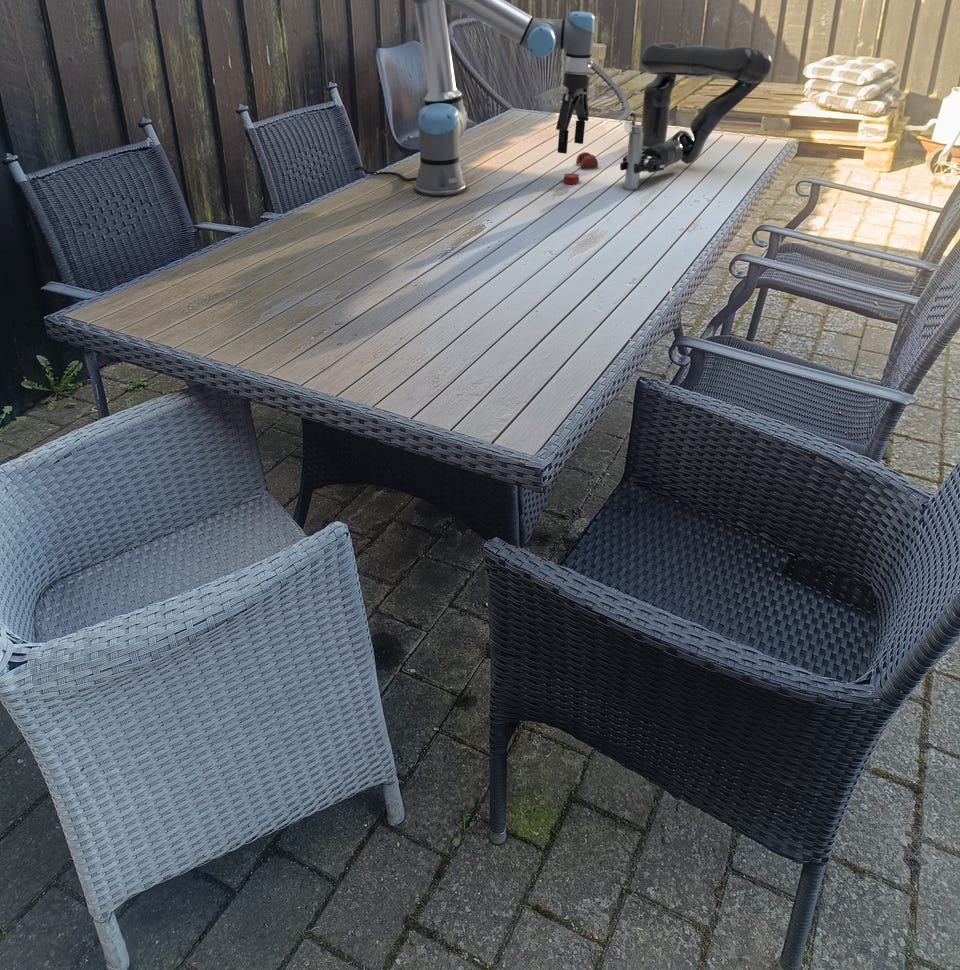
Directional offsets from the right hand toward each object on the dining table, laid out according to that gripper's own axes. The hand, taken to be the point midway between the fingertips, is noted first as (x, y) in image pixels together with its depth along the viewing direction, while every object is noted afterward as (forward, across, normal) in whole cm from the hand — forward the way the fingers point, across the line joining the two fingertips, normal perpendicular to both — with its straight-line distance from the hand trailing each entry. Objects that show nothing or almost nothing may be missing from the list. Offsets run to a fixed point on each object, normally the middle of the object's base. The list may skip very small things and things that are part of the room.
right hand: (628, 168), depth 255 cm
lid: (+5, -18, +5) cm, 19 cm away
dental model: (-13, -24, +6) cm, 29 cm away
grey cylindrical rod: (-3, 0, +6) cm, 7 cm away
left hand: (+5, -18, -4) cm, 19 cm away
